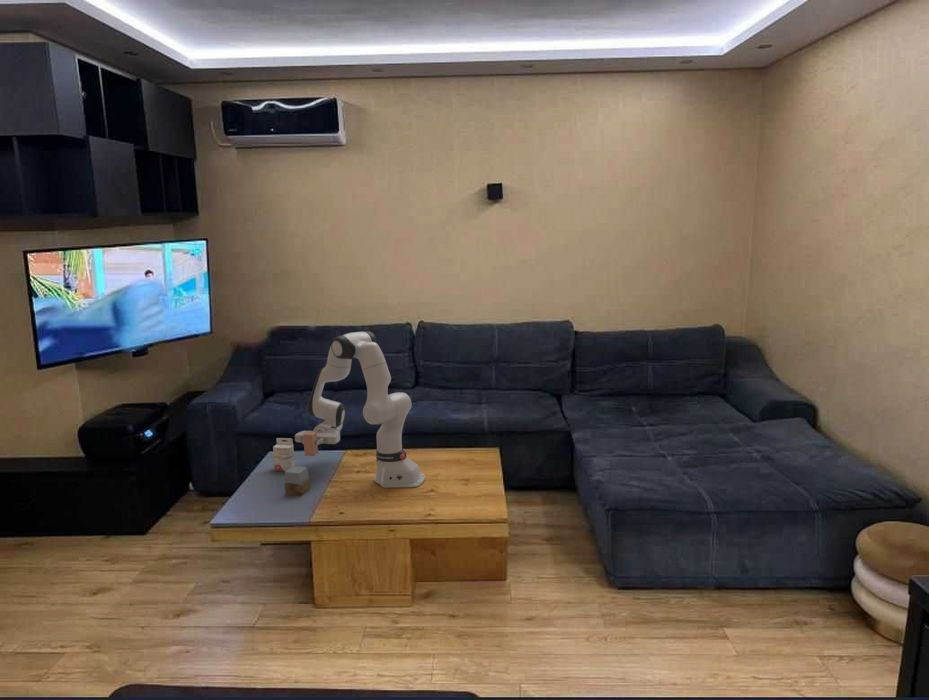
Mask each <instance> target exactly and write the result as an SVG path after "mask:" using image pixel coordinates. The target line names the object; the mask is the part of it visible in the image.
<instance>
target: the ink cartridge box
mask: <svg viewBox="0 0 929 700" xmlns="http://www.w3.org/2000/svg"><path fill="white" fill-rule="evenodd" d="M275 441H276V444H275V445H273V447H272V450H273V451H272V454H273V466H274V467H273V468H274V471H277V472H278V471H282V472H285V471H287V470H288V469H290V468H291V467H293V466H296V464H295V463H296V462H295V452H294V451H295V450H294V449H295V448H294V443H293V441H294V440H293V438H290V437H289V438H287V437H285V438H284V437H277V438H276V440H275Z"/></svg>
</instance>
